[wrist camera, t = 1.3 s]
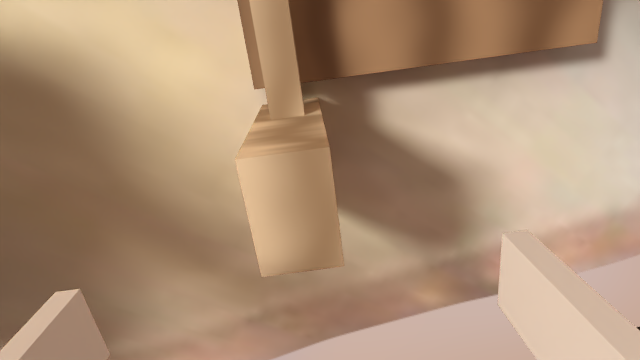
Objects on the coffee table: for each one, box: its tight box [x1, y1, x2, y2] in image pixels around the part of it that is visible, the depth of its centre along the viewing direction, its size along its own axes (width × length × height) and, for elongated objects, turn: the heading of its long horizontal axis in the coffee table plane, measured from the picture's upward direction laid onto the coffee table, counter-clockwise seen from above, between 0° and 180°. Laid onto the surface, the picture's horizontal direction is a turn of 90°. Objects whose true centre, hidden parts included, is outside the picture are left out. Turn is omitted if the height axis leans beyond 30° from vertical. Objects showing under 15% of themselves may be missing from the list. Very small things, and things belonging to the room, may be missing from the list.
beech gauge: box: [235, 0, 344, 277], centre depth 20 cm, size 4×16×12 cm, turn 7°
